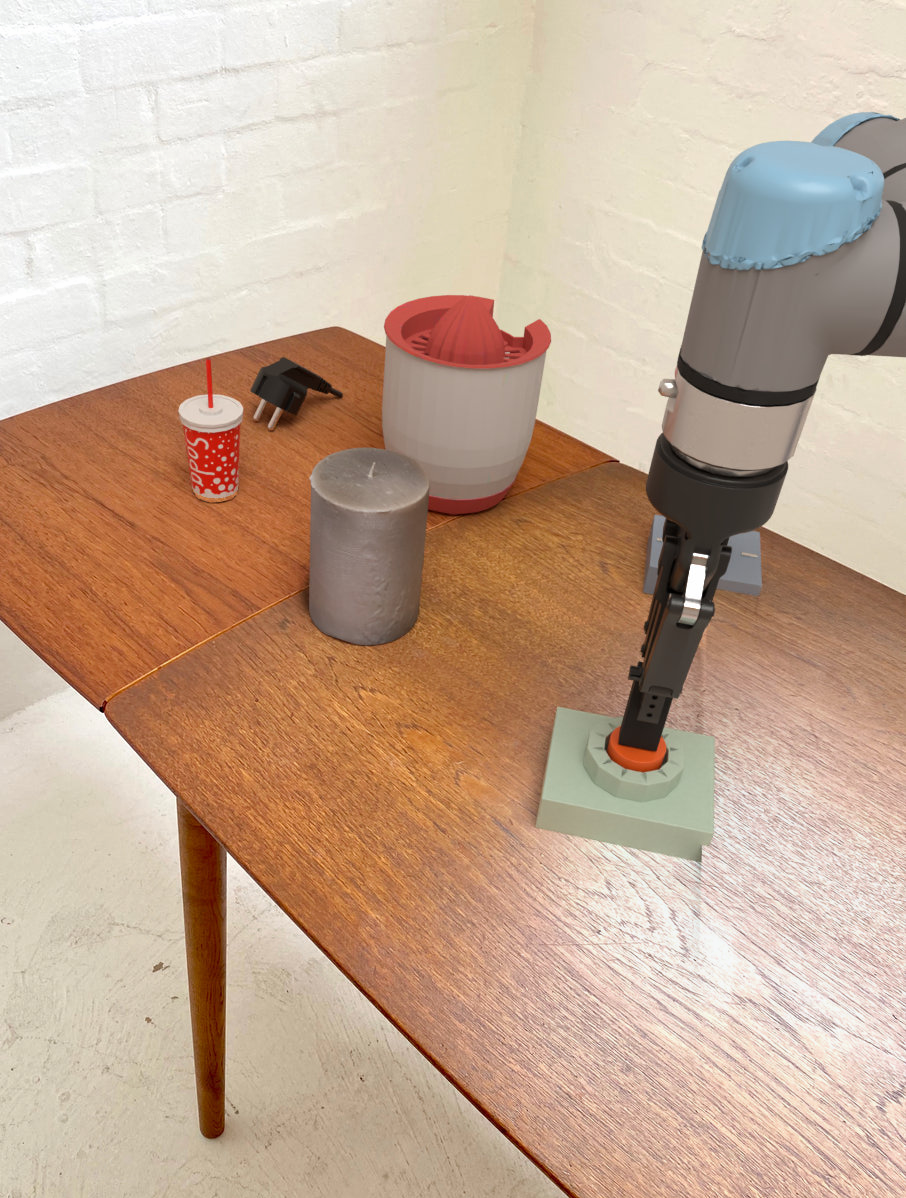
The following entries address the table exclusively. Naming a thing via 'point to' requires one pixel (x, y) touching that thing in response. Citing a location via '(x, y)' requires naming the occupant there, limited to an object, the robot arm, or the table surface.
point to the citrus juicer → (461, 397)
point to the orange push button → (635, 755)
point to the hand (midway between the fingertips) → (637, 740)
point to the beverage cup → (212, 441)
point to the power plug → (286, 388)
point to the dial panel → (740, 570)
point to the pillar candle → (367, 544)
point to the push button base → (628, 789)
